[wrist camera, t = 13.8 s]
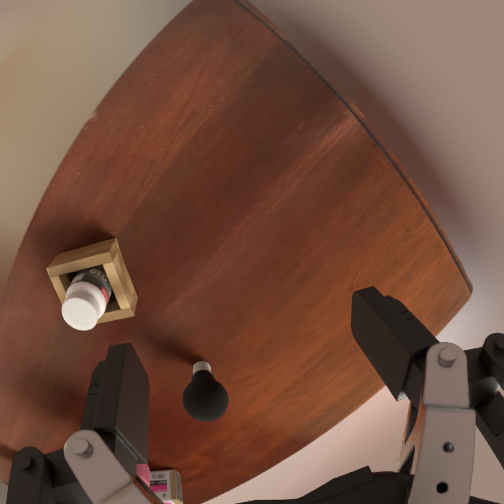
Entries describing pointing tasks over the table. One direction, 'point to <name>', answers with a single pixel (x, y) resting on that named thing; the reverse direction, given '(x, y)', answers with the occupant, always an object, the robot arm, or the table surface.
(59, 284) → the bottle socket
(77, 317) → the pill bottle
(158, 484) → the ink box
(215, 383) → the light bulb
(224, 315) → the table surface
